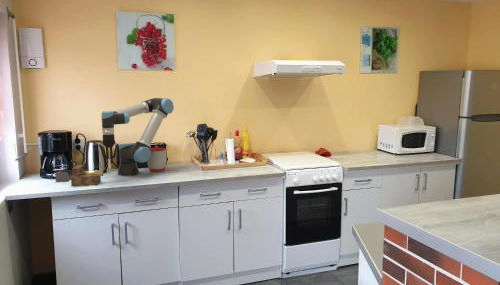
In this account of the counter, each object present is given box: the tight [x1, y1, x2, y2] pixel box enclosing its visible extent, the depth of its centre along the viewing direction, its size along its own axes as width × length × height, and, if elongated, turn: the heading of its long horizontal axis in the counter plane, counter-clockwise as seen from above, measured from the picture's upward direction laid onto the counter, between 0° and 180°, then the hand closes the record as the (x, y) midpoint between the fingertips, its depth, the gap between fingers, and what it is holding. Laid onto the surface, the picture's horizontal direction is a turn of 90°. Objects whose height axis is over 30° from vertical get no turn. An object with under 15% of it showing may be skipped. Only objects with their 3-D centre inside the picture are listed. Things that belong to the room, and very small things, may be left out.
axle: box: [80, 169, 104, 177], centre depth 251 cm, size 16×4×4 cm, turn 101°
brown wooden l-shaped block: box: [70, 164, 102, 187], centre depth 251 cm, size 16×12×12 cm
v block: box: [54, 169, 72, 183], centre depth 260 cm, size 8×8×6 cm
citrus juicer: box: [146, 145, 168, 173], centre depth 290 cm, size 16×17×20 cm
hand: (109, 168), depth 253 cm, fingers closed
